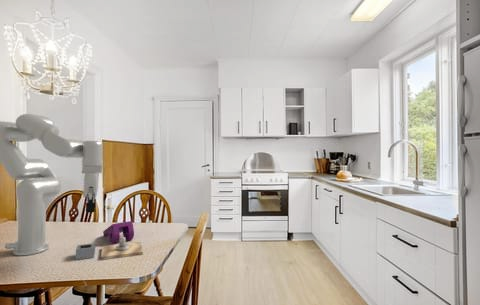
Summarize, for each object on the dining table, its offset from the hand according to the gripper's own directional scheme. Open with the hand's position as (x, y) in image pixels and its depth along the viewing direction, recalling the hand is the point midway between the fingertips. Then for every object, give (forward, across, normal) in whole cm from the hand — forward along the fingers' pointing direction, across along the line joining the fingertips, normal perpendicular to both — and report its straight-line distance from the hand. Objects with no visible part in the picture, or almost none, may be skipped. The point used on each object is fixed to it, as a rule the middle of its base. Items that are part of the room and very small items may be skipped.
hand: (90, 210), depth 113 cm
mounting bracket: (+19, -20, +11) cm, 30 cm away
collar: (+19, +1, -1) cm, 19 cm away
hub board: (+19, +1, +13) cm, 23 cm away
